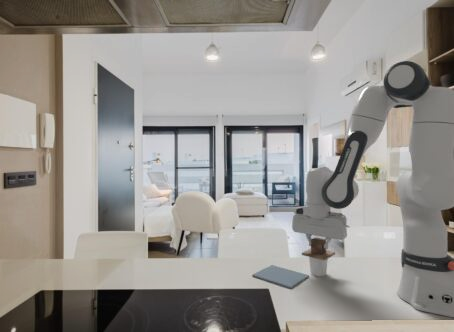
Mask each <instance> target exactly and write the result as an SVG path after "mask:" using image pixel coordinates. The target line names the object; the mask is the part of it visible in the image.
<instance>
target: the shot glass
mask: <svg viewBox="0 0 454 332" xmlns="http://www.w3.org/2000/svg"><path fill="white" fill-rule="evenodd" d="M308 259H309V261H308V262H309V271H310V274H311V275H313V276H316V277H324V276H327V270H328V269H327V268H328V259H329V258H328V259H326V260H321V259H317V258H313V257H308Z"/></svg>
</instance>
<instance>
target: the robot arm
mask: <svg viewBox="0 0 454 332" xmlns="http://www.w3.org/2000/svg"><path fill="white" fill-rule="evenodd" d="M428 77H429V76H428V74H427V73H426V72H425V70H424V68H423V67H422V66H421V65H419V64H418V63H416V62H414V61H410V60H403V61H399V62H397V63H395V64H393V65H391V67H389V68H388V69H387V71H386V72H385V74H384V77H383V85H370V86H367V87H366V88H364V89H363V90H362V91H361V93H360V95H359V96H358V97H357V100H356V102H355V104H354V106H353V109H352V112H351V114H350V117H349V120H348V125H347V129H346V133H345V134H346V135H345V139H344V145H343V147H342V150H341V153H340V156H339V159H338V161H337V164H336V166H335V168H334V171H333V170H332V169H330V168H329V167H327V166H322V167H316V168H312V169H309V170H308V171H307V174H306V181H305V192H306V200H305V205H302V206H298V207H296V208H294V209H293V213H294V215H293V217H292V221H291V222H292V226H291V228H292V231H293V232H294V233H298V234H299V233H300V234H305V237H306V239H307V242H308V246H309V247H311V239H313V238H312V237H313V236H317V237H320V238H324V239H325V240H326V243H324V244H323V249H326V250H328V249H329V244H330V243H331V241H332V239H334V240H338V241H339V240H341V241H342V240H344V239H347V237H348V231H347V221H348V219H347V216H346V215H344V214H343V213H342V212H334V211H332V210H331V208H333V209H336V210H341V209H345V208H347V207H349V206H350V205H351V204H352V202H354V200H355V199H356V198H357V197H358V194H359V190H360V189H359V185H358V183H357V182H356V180H354V179H355V177H356V173H357V171H358V169H359V166H360V162H361V161H362V158H363V156H364V155H365V153H366V152H367V150H369V148H370V147H371V146H373V145H374V144H375V143H376V142H377V140H378V138H379V137H380V136H381V133H382V131H383V129H384V126H385V124H386V122H387V118H388V116H389V114H390V111H391V110H392V109H393V108H395V109H400V108H411V107H412V109H413V116H412V124H411V128H410V135H409V136H410V137H409V143H408V144H409V145H408V150H409V151H408V152H409V153H410V160H411V170H409V171H407V172H404V173H403V174H401V175H400V176H399V177H398V179H397V180H396V184H395V187H396V191H397V195H398V201H399V206H400V207H399V208H400V212H401V213H400V214H401V218H402V228H403V229H402V231H403V232H402V234H403V236H402V237H403V239H402V241H403V246H402V247H403V248H402V249H401V252H400V253H401V257H400V261H401V262H400V263H401V268H402V271H401V278H400V283H399V286H398V289H397V291H396V292H397V295H398V297H399V298H401V299H402V301H403V300H404V301H405V302H407V303H409V304H410V305H411V306H412V307H413V308H414V309H416V310H418V311H422V312H426V313H430V314H435V315H439V316H445V317H450V318H454V257H452V256H450V255H449V254H448V228H447V225H446V222H445V221H444V219H443V215H442V211H444V210H449V209H452V208H454V89H452V88H450V87H447V86H445V87H444V86H433V85H432V84H431V81H430V79H429V78H428Z"/></svg>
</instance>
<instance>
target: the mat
mask: <svg viewBox="0 0 454 332" xmlns="http://www.w3.org/2000/svg"><path fill="white" fill-rule="evenodd" d="M252 277H254V278H256V279H260V280H263V281H267V282H269V283H272V284H275V285H278V286H281V287H284V288H287V289H293V288H295V287H296V286H297V285H299V284H300V283H302V282H303V281H305V280H306V279H308V278H310V275H309V274H307V273H303V272H298V271H295V270H291V269H287V268H284V267H280V266H277V265H273V264H271V265H269V266H267V267H265V268H263V269H261V270H259V271H257V272H255V273H253V274H252Z"/></svg>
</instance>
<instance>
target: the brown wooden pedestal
mask: <svg viewBox="0 0 454 332" xmlns="http://www.w3.org/2000/svg"><path fill="white" fill-rule="evenodd" d="M326 241H327V240H325V238H324V237H318V236H317V237H313V238H312V239H311V246H310V248H309V249H307V250H304V251H303V252H301V256H305V257H308V258H309V257H313V258H317V259H321V260H326V259H330V258H331V257H333V256H334V255H336V252H335V251H333V250H332V251H331V250H328V249H323V244H324V243H326Z"/></svg>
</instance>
